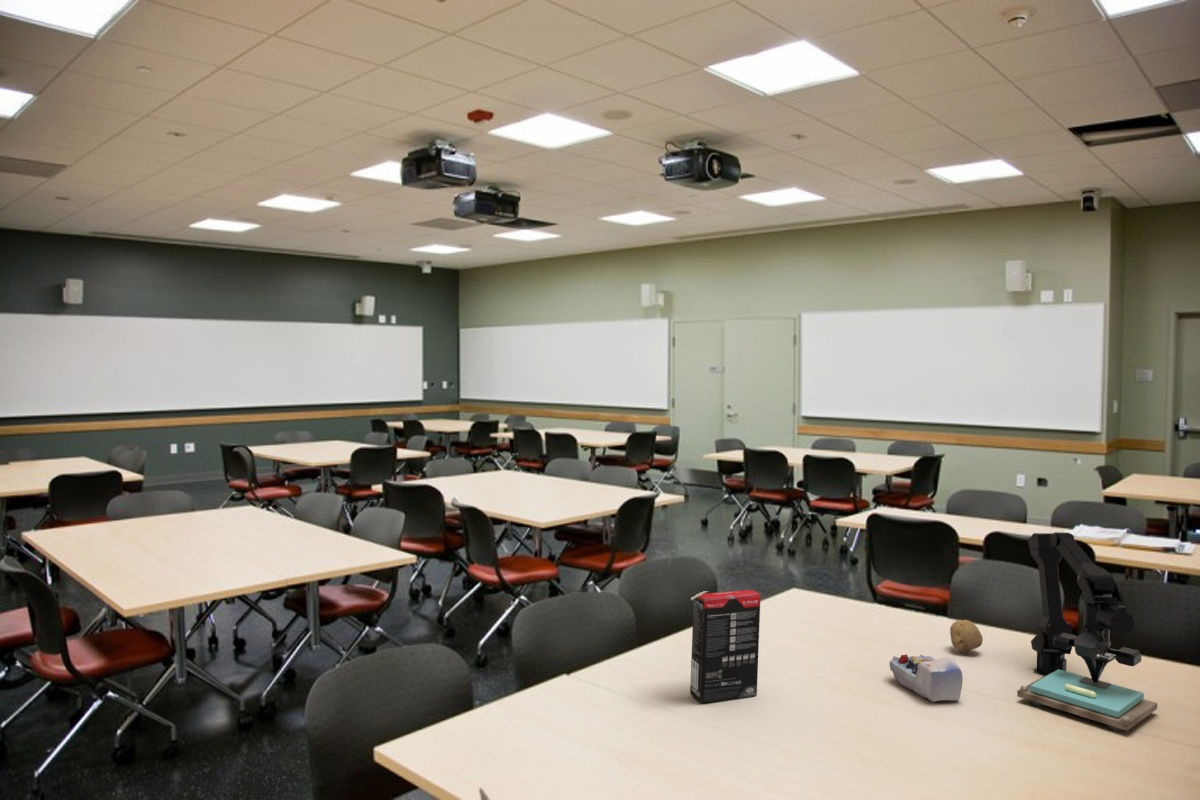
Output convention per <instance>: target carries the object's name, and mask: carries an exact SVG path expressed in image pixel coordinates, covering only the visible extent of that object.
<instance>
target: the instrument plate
mask: <svg viewBox="0 0 1200 800" xmlns="http://www.w3.org/2000/svg"><path fill="white" fill-rule="evenodd" d="M1045 676H1046V675H1045ZM1043 677H1044V676H1043ZM1043 677H1041V678H1042V679H1041V678H1040V679H1041V680H1039V679H1038V680H1039V681H1037V680H1036V681H1037V682H1035V681H1034V682H1035V683H1034V684H1032V685H1030V691H1031V692H1034V693H1038V694H1041V695H1044V696H1048V697H1051V698H1054V699H1058V700H1061V701H1064V702H1067V703H1071V704H1074V705H1077V706H1081V707H1084V708H1087V709H1091V710H1094V711H1097V712H1101V713H1104V714H1107V715H1111V716H1114V717H1117V718H1118V717H1120V716H1121V715H1122V714H1124V713H1125V712H1126V711H1128V710H1129V709H1131V708H1132V707H1133V706H1135V705H1136V704H1137V703H1139V702H1140V701H1141V700H1143V699H1145V698H1144V697H1145V693H1144V692H1143V691H1139V690H1135V689H1131V688H1128V687H1125V686H1121V685H1118V684H1114V683H1110V682H1107V681H1103V680H1100V679H1099V680H1098V682H1093V680H1092V677H1089V676H1086V675H1084V676H1083V675H1080V674H1077V673H1074V672H1069V671H1067V670H1066V671H1063V670H1059V669H1058V670H1056V671H1055V672H1053V673H1051V674H1049V675H1048V676H1046V677H1044V678H1043Z"/></svg>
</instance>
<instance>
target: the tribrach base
mask: <svg viewBox="0 0 1200 800" xmlns="http://www.w3.org/2000/svg"><path fill="white" fill-rule="evenodd" d="M1050 674H1051V673H1050ZM1048 675H1049V674H1048ZM1048 675H1044V676H1043V677H1041V678H1039V679H1036V681H1033V682H1031V683H1030V684H1027V685H1021V686H1020V689H1018V690H1017V693H1016V694H1017V696H1016V697H1018V698H1022V699H1025V700H1028V704H1029V705H1031V706H1034V707H1039V708H1040V707H1041V708H1043V707H1044V706H1046V707H1050V708H1053V709H1056V710H1060V711H1063V712H1067V713H1070V714H1073V715H1076V716H1079V717H1082V718H1086V719H1088V720H1092V721H1095V722H1098V723H1101V724H1105V725H1106V728H1107V729H1108V730H1111V731H1114V732H1119V733H1120V732H1124V731H1126V732H1127V731H1129V730H1130V729H1132V728H1134V726H1136V725H1137V724H1139V723H1140V722H1141V721H1143V720H1144V719H1146V718H1147V717H1148V716H1150V715H1151V714H1152V713H1154V712H1155V711H1156V710H1157V709H1158V703H1157V702H1156V701H1152V700H1147V699H1145V698H1144V699H1143V700H1141V701H1140V702H1139V703H1137V704H1136V705H1135V706H1133V707H1132V708H1131V709H1129V710H1128V711H1126V712H1125V713H1124V714H1122V715H1121V716H1120V717H1118V718H1117V717H1114V716H1111V715H1107V714H1104V713H1101V712H1097V711H1094V710H1091V709H1087V708H1084V707H1081V706H1077V705H1074V704H1071V703H1067V702H1064V701H1061V700H1058V699H1054V698H1051V697H1048V696H1044V695H1041V694H1038V693H1034V692H1031V691H1030V685H1032V684H1034V683H1035V682H1037V681H1039V680H1041V679H1042V678H1044V677H1046V676H1048Z"/></svg>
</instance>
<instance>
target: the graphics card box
mask: <svg viewBox="0 0 1200 800" xmlns="http://www.w3.org/2000/svg"><path fill="white" fill-rule="evenodd" d="M692 600H693V601H692V602H693V604H692V605H693V606H692V631H691V632H692V633H691V634H692V635H691V637H692V638H691V641H692V642H691V662H690V665H691V666H690V690H689V691H690V692H689V693H690V695H691V696H692V697H693V698H694V699H696V701H698V702H699V703H700V704H705V703H711V702H721V701H729V700H736V699H742V698H750V697H751V698H752V697H756V696H757V695H758V678H759V677H758V676H759V675H758V672H759V670H758V669H759V647H760V646H759V644H760V643H759V642H760V622H761V621H760V620H761V619H760V617H761V593H759V592H758V591H755V590H752V589H744V590H742V589H741V590H729V591H719V592H717V591H716V592H709V593H708V592H704V593H701V594H699V595H697V596H696V597H694V598H692Z"/></svg>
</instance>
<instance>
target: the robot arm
mask: <svg viewBox="0 0 1200 800" xmlns="http://www.w3.org/2000/svg"><path fill="white" fill-rule="evenodd" d="M1027 542H1028V543H1027V544H1028V547H1029V551H1030V555H1031V557H1032V559H1033V560H1034V561H1035V563H1036V564H1037V566H1038V574H1039V577H1038V578H1039V587H1040V595H1041V606H1042V607H1041V608H1042V618H1041V619H1040V620H1039V623H1038V624H1037V633H1036V635H1035V636H1034V637H1032V639H1031V641H1030V644H1031V649H1032V650H1034V651H1035V652H1036V668H1035V669H1033V672H1034V673H1036V674H1041V675H1044V676H1046V675H1048V674H1050V673H1053V672H1055V671H1056V670H1058V669H1059V670H1063V671H1066V672H1067V665H1068V664H1067V659H1066V655H1071V652H1072V649H1073V647H1074V652H1075V654H1076V655H1077V656H1078V657H1081V659H1082V660H1083V661H1084V662H1085V664H1086V667H1087V669H1088V672H1089V675H1090V678H1092V680H1093V682H1098V680H1100V678H1101V676H1102V673H1103V672H1104V670H1105V668H1106V666H1107V665H1108V664H1109V663H1111V662H1112V661H1114V660H1116V662H1117V663H1118V664H1120V665H1126V666H1129V667H1135V666H1137V665H1138V664H1140V663H1141V662H1142V653H1141V652H1140V651H1139V649H1134V648H1130V647H1125V646H1122V647H1121V648H1119V649H1115V648H1112V647H1111V646H1112V642H1111V640H1110V636H1111V633H1110V632H1113V633H1115V634H1117V635H1120V636H1124V635H1128V634H1129V633H1131V632H1132V630H1134V628H1135V627H1134V626H1135V620H1134V618H1133V616H1132V615H1131V614H1130V613H1128V612H1127V607H1126V606H1124V604H1125V603H1124V600H1123V598H1124V596H1123V594H1122V593H1121V590H1120V588H1119V585H1118V583H1117V581H1116V578H1115V577H1114V576H1113V575H1112V574H1111V573H1110V572H1109V571H1108V570H1106V569H1105V568H1103V567H1102V566H1098V565H1096V564H1095V563H1094V562H1093V561H1092V560H1091V558H1090V557H1089V556H1088V555H1087V553H1086V552H1085V551H1084V550H1083V548H1082V547H1081V546H1080V545H1079V544H1078V542H1076V540H1075V537H1074V535H1073V534H1072V533H1070V532H1064V531H1063V532H1059V531H1058V532H1057V531H1056V532H1053V533H1052V532H1049V533H1044V532H1041V533H1040V532H1038V533H1037V532H1035V533H1032V534H1031V536H1030V537H1029V538H1028V540H1027ZM1062 558H1064V560H1065V561H1066V562H1067V563H1068V565H1069V566H1070V567H1071V569H1072V570H1073V571H1074V573H1075V574H1076V576H1077V578H1076V579H1077V581H1076V583H1077V585H1078V586H1079V588H1080V590H1081V591H1082V595H1081V596H1079V599H1080V600H1081V601H1084V602H1083V603H1084V604H1083V624H1082V625H1081V630H1080V633H1079V634H1078V635H1075V634H1073V626H1072V624H1071V623H1068V622H1067V620H1066V619H1065V618H1064V613H1063V604H1062V602H1063V601H1062V596H1061V595H1062V594H1061V593H1062V592H1061V585H1060V574H1059V563H1060V561H1061V560H1062Z"/></svg>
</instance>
